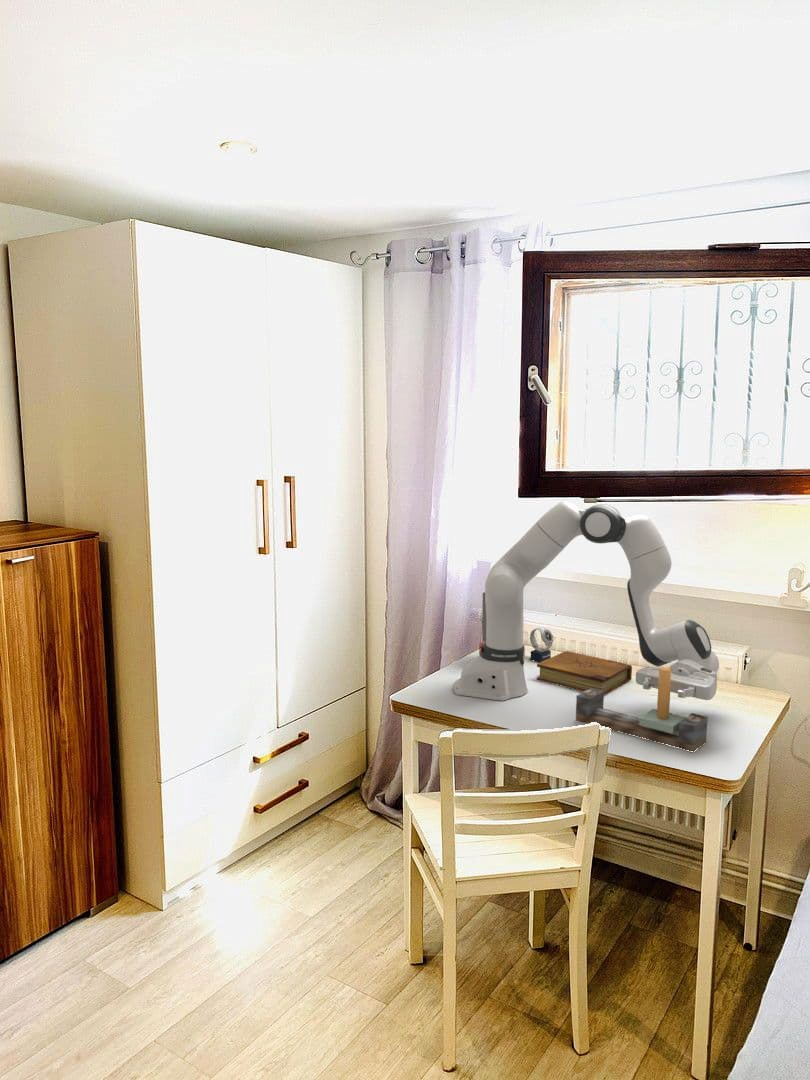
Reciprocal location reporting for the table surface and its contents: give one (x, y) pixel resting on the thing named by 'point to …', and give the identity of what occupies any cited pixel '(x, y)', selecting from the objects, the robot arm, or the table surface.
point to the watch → (541, 653)
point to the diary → (584, 672)
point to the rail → (592, 711)
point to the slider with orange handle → (662, 707)
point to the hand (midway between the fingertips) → (662, 690)
